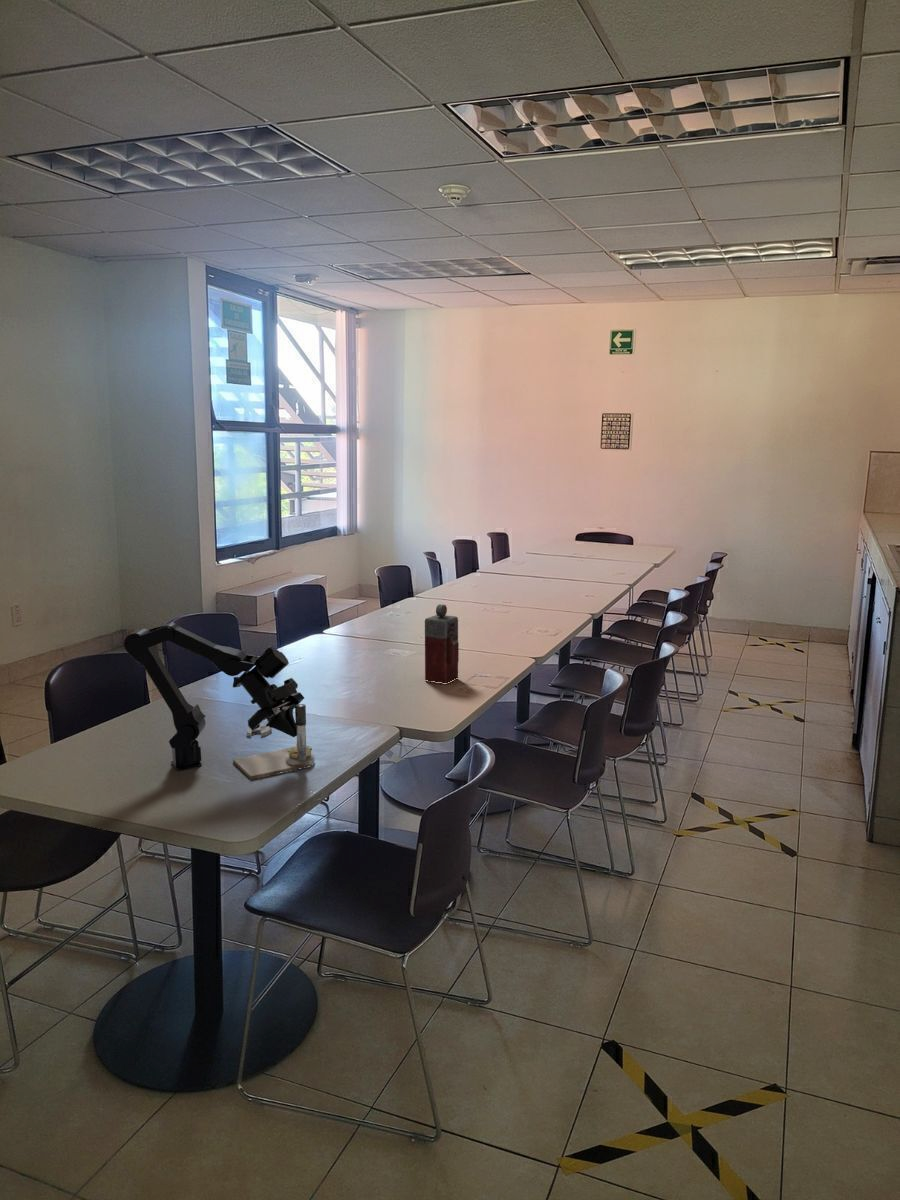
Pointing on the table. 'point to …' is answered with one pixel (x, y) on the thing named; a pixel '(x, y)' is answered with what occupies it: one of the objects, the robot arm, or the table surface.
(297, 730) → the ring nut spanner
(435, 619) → the knobbed red-grey post
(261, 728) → the adjustable wrench
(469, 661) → the table surface
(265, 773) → the brown wooden board
